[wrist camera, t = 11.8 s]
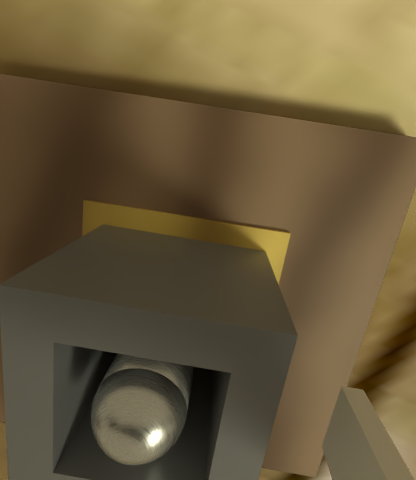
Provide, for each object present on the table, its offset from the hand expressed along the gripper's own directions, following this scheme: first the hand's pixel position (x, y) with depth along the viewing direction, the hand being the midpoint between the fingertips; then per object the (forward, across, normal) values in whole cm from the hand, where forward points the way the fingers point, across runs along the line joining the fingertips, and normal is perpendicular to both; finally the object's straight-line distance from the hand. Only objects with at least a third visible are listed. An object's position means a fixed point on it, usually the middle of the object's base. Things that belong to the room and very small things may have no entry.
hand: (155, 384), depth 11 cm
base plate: (+7, 0, 0) cm, 7 cm away
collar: (+5, 0, 0) cm, 5 cm away
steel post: (+5, 0, 0) cm, 5 cm away
